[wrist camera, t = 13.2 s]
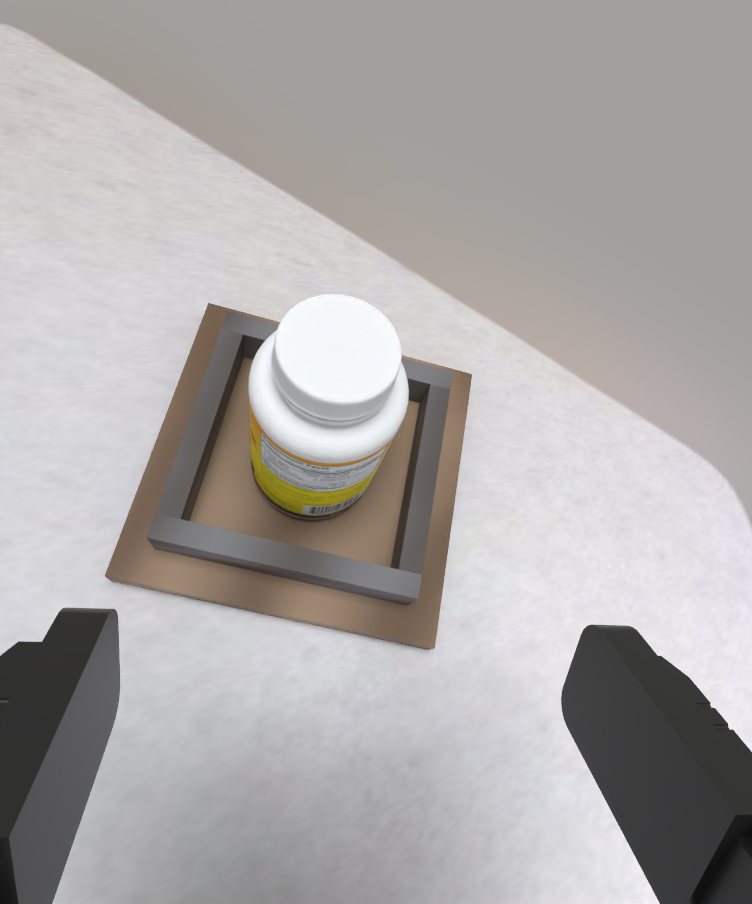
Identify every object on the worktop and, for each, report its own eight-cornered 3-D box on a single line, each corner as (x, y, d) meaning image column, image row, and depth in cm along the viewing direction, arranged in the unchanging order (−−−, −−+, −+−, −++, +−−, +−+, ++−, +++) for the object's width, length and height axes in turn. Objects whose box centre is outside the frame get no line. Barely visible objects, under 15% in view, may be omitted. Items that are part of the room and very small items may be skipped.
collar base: (110, 580, 24) (91, 566, 22) (209, 314, 30) (205, 277, 27) (428, 649, 26) (448, 644, 23) (465, 383, 31) (485, 354, 29)
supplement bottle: (295, 391, 28) (316, 242, 19) (390, 453, 28) (459, 333, 19) (224, 479, 26) (207, 358, 17) (327, 548, 25) (369, 464, 16)
